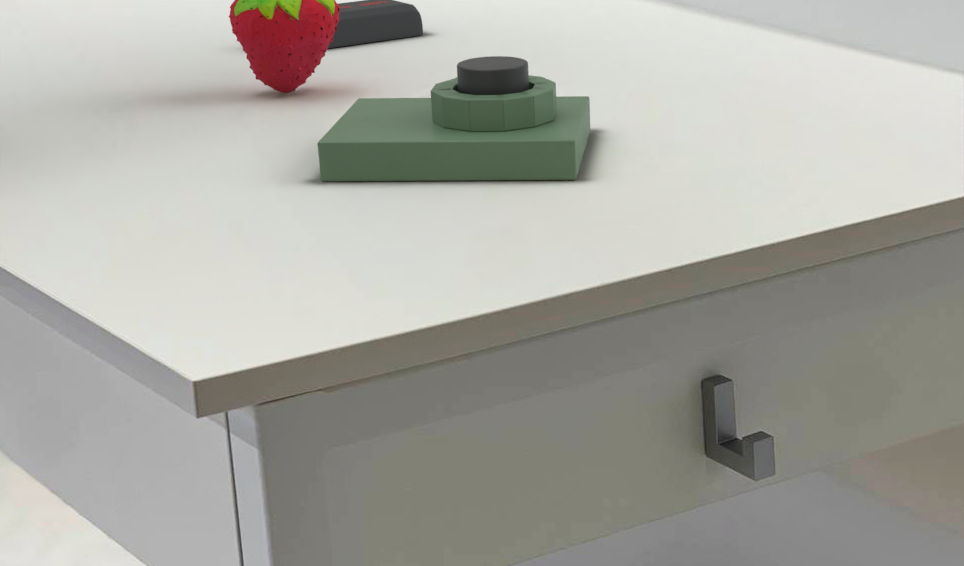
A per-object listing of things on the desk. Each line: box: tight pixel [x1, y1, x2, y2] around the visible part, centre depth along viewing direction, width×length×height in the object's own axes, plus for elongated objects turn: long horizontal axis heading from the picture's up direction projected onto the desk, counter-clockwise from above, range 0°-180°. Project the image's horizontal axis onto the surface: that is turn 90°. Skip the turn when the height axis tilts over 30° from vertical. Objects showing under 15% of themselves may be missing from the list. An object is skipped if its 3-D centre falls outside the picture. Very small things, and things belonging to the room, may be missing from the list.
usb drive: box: [328, 0, 424, 49], centre depth 128 cm, size 5×12×3 cm, turn 127°
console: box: [317, 75, 591, 182], centre depth 92 cm, size 14×11×4 cm
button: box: [456, 55, 529, 95], centre depth 91 cm, size 4×4×2 cm
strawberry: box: [228, 0, 340, 94], centre depth 108 cm, size 6×7×10 cm
